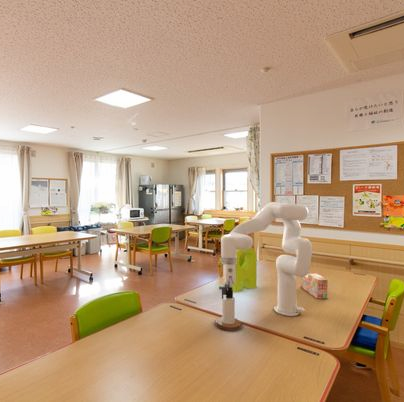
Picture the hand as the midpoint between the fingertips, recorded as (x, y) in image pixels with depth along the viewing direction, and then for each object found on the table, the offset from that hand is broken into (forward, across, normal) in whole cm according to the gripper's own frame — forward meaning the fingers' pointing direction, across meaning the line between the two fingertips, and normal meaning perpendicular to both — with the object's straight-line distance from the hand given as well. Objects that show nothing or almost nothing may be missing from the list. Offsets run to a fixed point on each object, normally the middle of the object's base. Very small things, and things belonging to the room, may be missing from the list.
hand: (228, 295), depth 145 cm
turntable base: (+15, 0, 0) cm, 15 cm away
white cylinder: (+14, 0, 0) cm, 14 cm away
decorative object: (+15, +56, -19) cm, 61 cm away
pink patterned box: (+15, +50, -63) cm, 82 cm away
